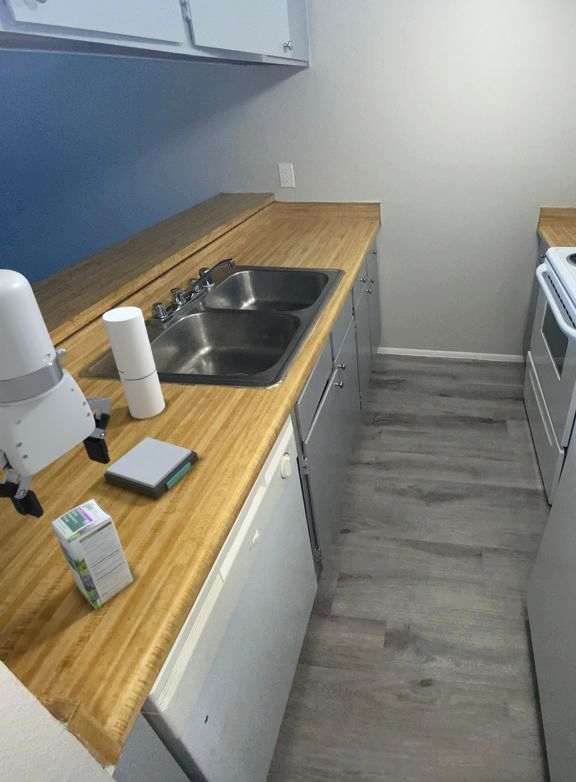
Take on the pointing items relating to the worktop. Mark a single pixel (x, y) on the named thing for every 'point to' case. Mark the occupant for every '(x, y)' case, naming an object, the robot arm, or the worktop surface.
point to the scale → (151, 467)
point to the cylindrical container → (134, 361)
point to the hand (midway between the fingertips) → (68, 485)
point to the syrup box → (93, 552)
